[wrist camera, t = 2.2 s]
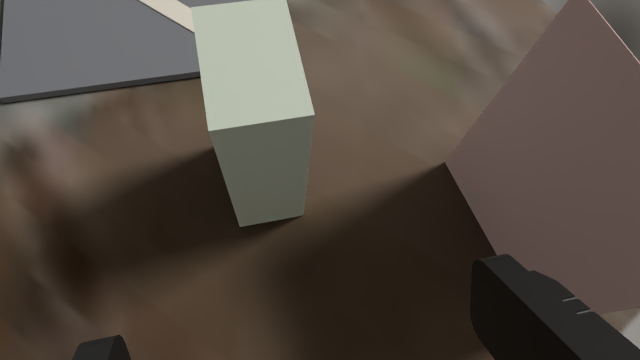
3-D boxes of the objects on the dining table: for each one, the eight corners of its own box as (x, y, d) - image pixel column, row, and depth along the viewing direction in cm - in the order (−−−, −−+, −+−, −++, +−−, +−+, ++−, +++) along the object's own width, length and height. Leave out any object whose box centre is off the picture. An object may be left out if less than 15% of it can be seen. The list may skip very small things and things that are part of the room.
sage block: (239, 227, 27) (208, 131, 16) (226, 142, 30) (191, 7, 19) (303, 215, 28) (314, 114, 17) (285, 132, 30) (285, -4, 19)
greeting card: (550, 328, 26) (844, 284, 12) (428, 299, 26) (582, 223, 13) (552, 160, 31) (768, -10, 17) (447, 136, 31) (577, -51, 17)
